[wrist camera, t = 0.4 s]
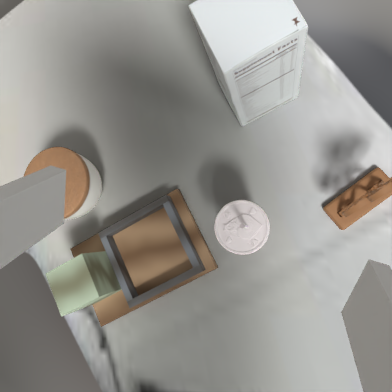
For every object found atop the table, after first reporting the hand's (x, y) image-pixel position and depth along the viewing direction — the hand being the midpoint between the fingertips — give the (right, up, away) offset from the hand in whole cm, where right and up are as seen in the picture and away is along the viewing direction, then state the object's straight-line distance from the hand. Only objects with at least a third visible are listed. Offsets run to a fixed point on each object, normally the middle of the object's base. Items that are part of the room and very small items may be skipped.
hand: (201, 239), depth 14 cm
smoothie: (+7, -3, +32) cm, 33 cm away
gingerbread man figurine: (+22, +1, +29) cm, 36 cm away
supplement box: (+9, +18, +34) cm, 40 cm away
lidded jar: (-19, +3, +40) cm, 44 cm away
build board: (-9, -8, +36) cm, 37 cm away
